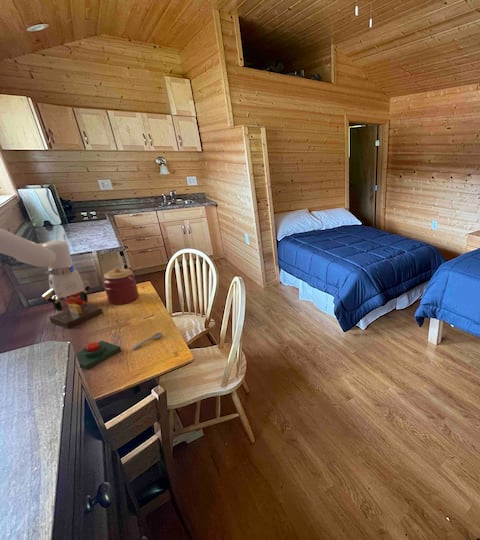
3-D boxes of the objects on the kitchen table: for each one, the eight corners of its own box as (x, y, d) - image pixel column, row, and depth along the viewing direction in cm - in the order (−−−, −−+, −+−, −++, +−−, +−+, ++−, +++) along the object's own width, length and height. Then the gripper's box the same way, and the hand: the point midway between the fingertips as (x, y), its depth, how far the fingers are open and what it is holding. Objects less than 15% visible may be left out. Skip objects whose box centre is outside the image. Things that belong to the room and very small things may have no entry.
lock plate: (68, 328, 129) (66, 322, 128) (51, 323, 132) (48, 316, 131) (103, 313, 142) (101, 308, 140) (86, 308, 144) (84, 303, 143)
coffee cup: (63, 309, 142) (53, 281, 136) (66, 302, 148) (57, 274, 143) (86, 306, 147) (78, 278, 141) (88, 298, 153) (80, 271, 147)
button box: (87, 370, 108) (84, 361, 107) (68, 363, 111) (65, 354, 109) (121, 351, 119) (119, 342, 117) (103, 344, 121) (100, 336, 120)
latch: (82, 313, 136) (79, 304, 134) (78, 314, 134) (75, 306, 133) (74, 310, 137) (71, 302, 135) (70, 311, 136) (67, 303, 134)
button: (91, 353, 111) (90, 349, 111) (84, 350, 112) (83, 346, 112) (102, 347, 115) (100, 343, 114) (95, 345, 115) (94, 341, 115)
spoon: (164, 336, 129) (163, 332, 129) (135, 352, 120) (133, 348, 119) (160, 334, 131) (159, 330, 130) (130, 350, 121) (129, 346, 120)
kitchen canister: (112, 294, 158) (104, 263, 152) (141, 292, 163) (135, 262, 157) (104, 306, 147) (95, 273, 141) (136, 303, 153) (128, 271, 146)
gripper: (42, 278, 119) (54, 315, 125) (90, 265, 134) (99, 299, 140) (30, 274, 121) (42, 312, 127) (79, 262, 136) (87, 296, 142)
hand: (72, 305), depth 134 cm, fingers open, 9 cm apart
